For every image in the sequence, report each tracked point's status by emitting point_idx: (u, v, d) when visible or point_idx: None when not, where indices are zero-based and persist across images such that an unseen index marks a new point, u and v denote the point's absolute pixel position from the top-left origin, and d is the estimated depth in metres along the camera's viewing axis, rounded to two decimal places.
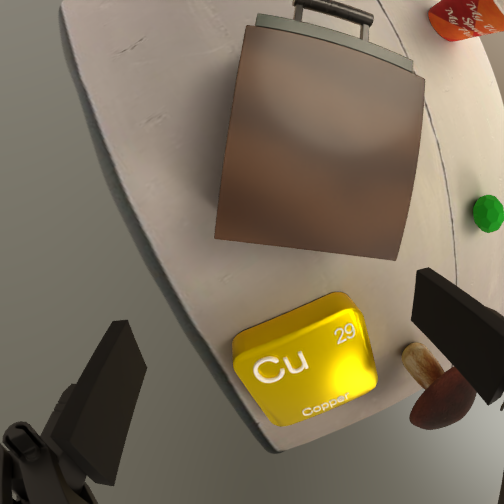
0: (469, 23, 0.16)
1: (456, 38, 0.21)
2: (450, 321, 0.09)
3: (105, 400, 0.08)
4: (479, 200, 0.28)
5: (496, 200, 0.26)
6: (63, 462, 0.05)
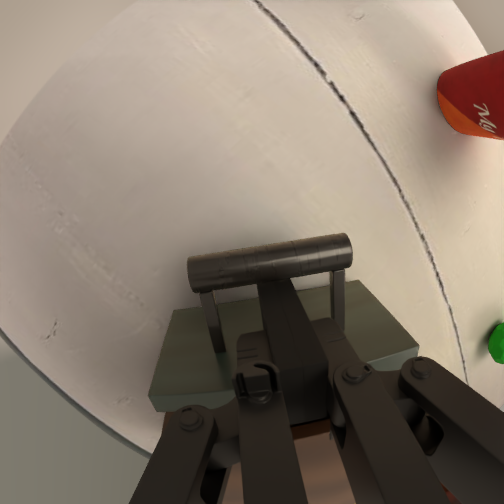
0: None
1: None
2: None
3: None
4: (496, 335, 0.22)
5: None
6: None
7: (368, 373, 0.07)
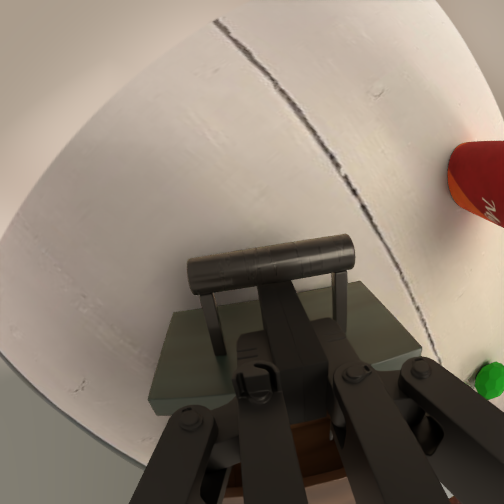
0: None
1: None
2: None
3: None
4: (482, 375, 0.24)
5: (499, 377, 0.22)
6: None
7: (368, 373, 0.07)
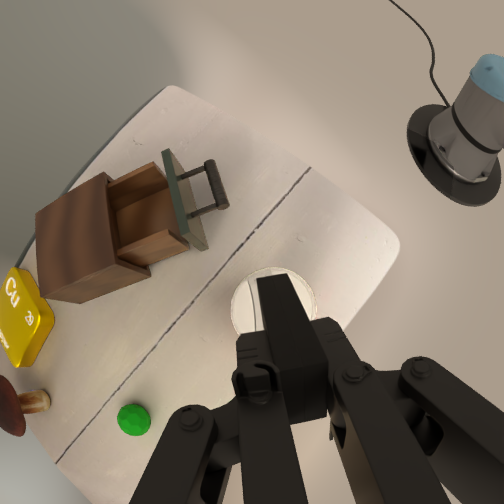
0: None
1: None
2: None
3: None
4: (138, 406, 0.35)
5: (138, 417, 0.33)
6: None
7: (368, 373, 0.07)
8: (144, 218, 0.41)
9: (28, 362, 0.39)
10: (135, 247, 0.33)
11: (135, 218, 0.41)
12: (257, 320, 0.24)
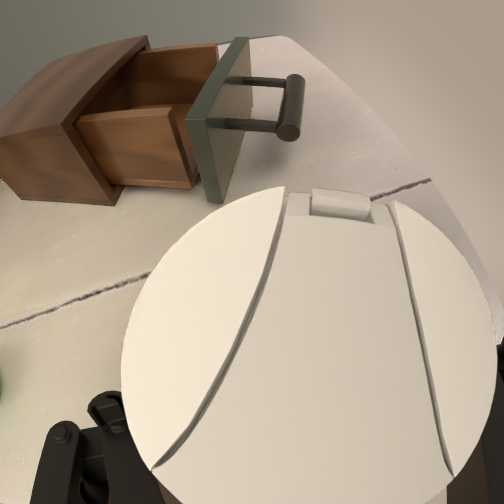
0: None
1: None
2: None
3: None
4: None
5: None
6: None
7: None
8: None
9: None
10: (105, 118, 0.16)
11: None
12: (230, 384, 0.04)
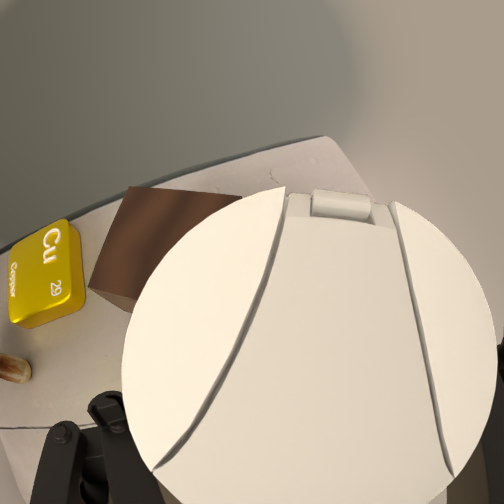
0: None
1: None
2: None
3: None
4: None
5: None
6: None
7: None
8: None
9: (28, 325, 0.34)
10: None
11: None
12: (231, 385, 0.04)
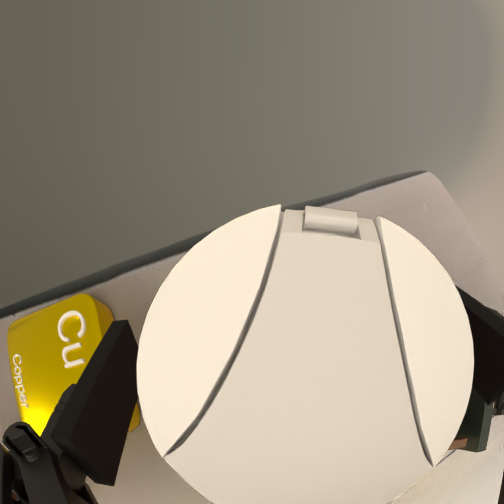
0: None
1: None
2: None
3: (105, 400, 0.08)
4: None
5: None
6: (63, 462, 0.05)
7: None
8: None
9: None
10: None
11: None
12: (233, 380, 0.05)
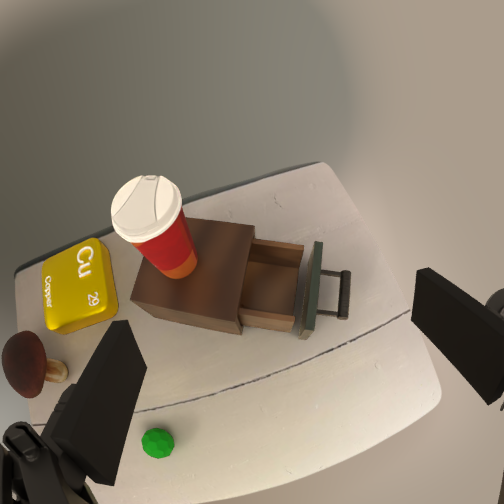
0: None
1: None
2: (450, 321, 0.09)
3: (105, 400, 0.08)
4: (169, 434, 0.35)
5: (167, 445, 0.33)
6: (63, 462, 0.05)
7: None
8: (262, 283, 0.45)
9: (64, 331, 0.43)
10: (257, 316, 0.36)
11: (253, 277, 0.46)
12: (126, 203, 0.26)
